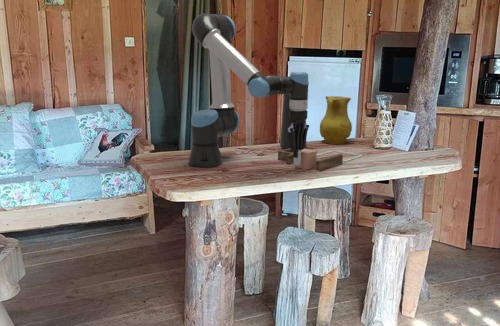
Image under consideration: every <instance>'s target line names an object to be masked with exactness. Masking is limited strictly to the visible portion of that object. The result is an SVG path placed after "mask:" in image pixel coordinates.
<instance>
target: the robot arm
mask: <svg viewBox="0 0 500 326" xmlns="http://www.w3.org/2000/svg"><path fill="white" fill-rule="evenodd" d="M191 26H192V28H191V31H192V34H193V37H194V38H195V39H196V41H197V42H198V43H199V44H200V45H201V46H202V47H203V48H204V49H208V50H209V65H210V83H211V101H212V103H211V104H210V106H208V107H209V109H201V110H197V111H194V112H193V113H192V114H191V119H190V124H191V127H190V129H191V149H190V153H189V157H188V158H187V159H188V161H187V162H188V165H190V166H192V167H197V168H211V167H217V166H220V165H222V164H223V156H222V154H221V151H220V147H219V138H221V137H224V136H228V135H231V134H233V133H235V132H236V131H237V130H238V129H239V127H240V123H241V121H240V120H241V117H240V115H239V113H238V112H237V111H236V108H235V107H236V106H235V105H234V104H233V103H232V97H231V96H232V95H231V90H232V89H231V75H230V74H231V72H233V73H234V74H235V76H237V77H238V78H239V79H240V81H242V82H243V83H245V85H246V86H247V89H248V92H249V94H250V95H251V96H252V97H253V98H265V97H269V96H275V95H284V94H285V95H290V106H289V108H290V109H291V110H290V111H289V118H290V119H291V124H290V125H291V126H290V127H289V128H288V127H287V132H288V137H289V144H290V149H292V150H293V157H294V163H293V166H294V165H301V150H303V149H304V148H303V147H305V143H306V144H307V136H308V130H309V128H310V125H309V124H307V119H308V106H309V105H308V103H309V101H308V100H309V98H308V97H309V84H310V83H309V73H308V72H305V71H292V72H290V74H289V76H280V75H279V76H278V75H267V76H265V75H264V74H263V73H262V72H261V71H259V69H258V68H256V66H255V65H253V64H252V63H251V62H250V61H249V60H248V59H247V58H246V57H245V56H244V55H243V54H242V53H240V51H239V50H237V48H235V47H234V46H233V43H232V40H233V39H234V37H235V36H236V32H237V31H236V24H235V21H234V20H233V19H232V18H231V17H230V16H228V15H225V14H220V13H219V14H216V13H201V14H198V15H197V16H196V17H195V18H194V19H193V21H192V24H191ZM230 71H231V72H230ZM305 120H306V121H305Z"/></svg>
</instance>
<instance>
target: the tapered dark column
mask: <svg viewBox="0 0 500 326" xmlns="http://www.w3.org/2000/svg"><path fill="white" fill-rule="evenodd" d="M282 100H283V101H282V102H283V103H282V114H281V115H282V116H281V128H280V142H279V143H280V144H279V148H280V147H281V148H282V149H281V148H280V149H281V150H284V149H288V148H290V144H289V137H288V132H287V127H288V128H289V127H290V126H291V125H290V124H291V119H290V118H289V111H290V110H291V109H290V108H289V106H290V95H285V94H283V99H282ZM305 121H306V122H307V119H306V120H305ZM303 148H304V149H307V142H306V143H305V147H303Z"/></svg>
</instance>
